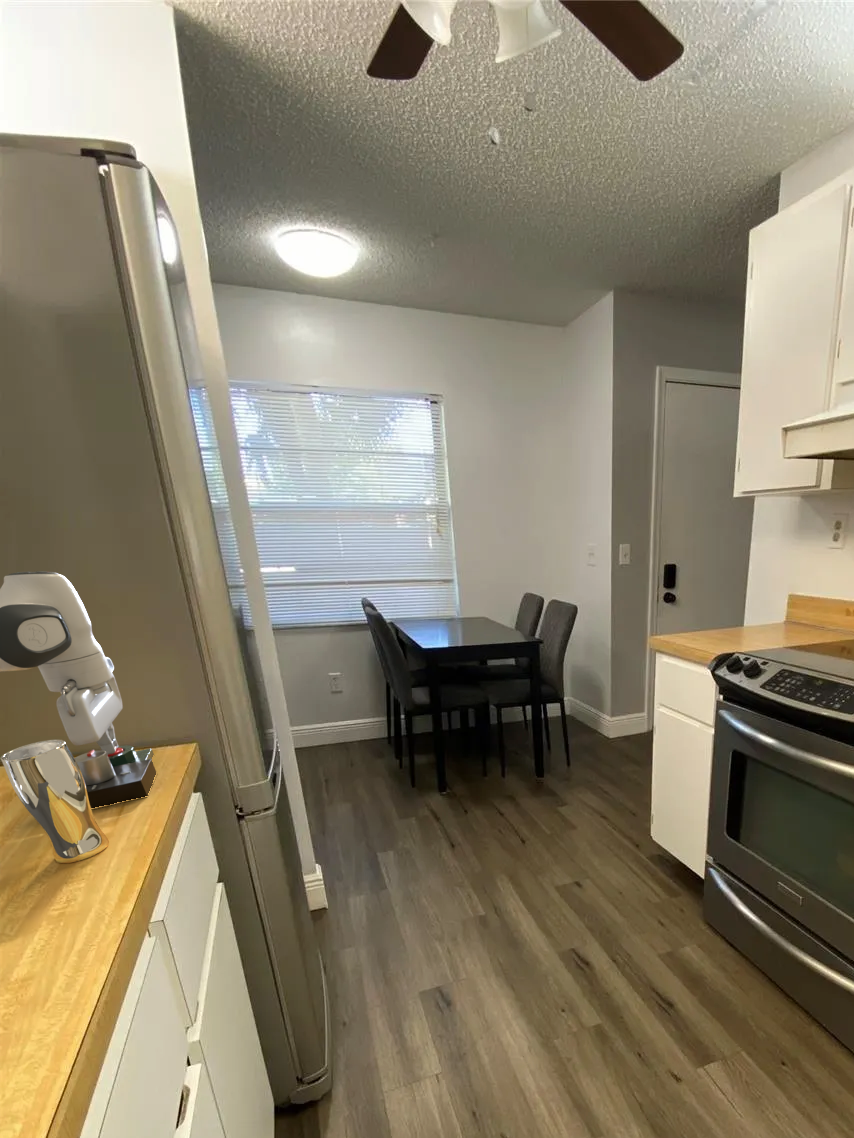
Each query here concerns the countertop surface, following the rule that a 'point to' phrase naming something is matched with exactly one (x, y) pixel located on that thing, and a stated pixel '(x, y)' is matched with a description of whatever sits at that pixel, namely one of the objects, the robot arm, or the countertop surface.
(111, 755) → the button
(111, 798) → the panel
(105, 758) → the knob
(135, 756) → the switch block
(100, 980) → the countertop surface
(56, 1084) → the countertop surface
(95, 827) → the beer glass
